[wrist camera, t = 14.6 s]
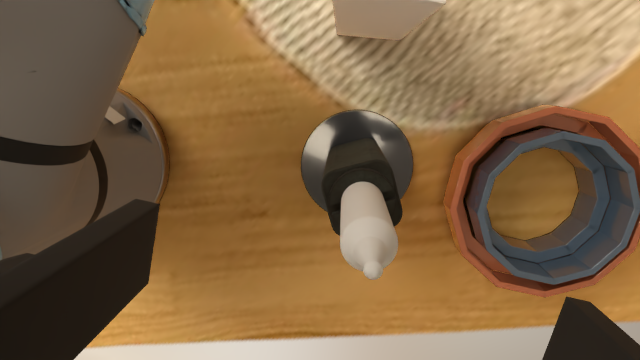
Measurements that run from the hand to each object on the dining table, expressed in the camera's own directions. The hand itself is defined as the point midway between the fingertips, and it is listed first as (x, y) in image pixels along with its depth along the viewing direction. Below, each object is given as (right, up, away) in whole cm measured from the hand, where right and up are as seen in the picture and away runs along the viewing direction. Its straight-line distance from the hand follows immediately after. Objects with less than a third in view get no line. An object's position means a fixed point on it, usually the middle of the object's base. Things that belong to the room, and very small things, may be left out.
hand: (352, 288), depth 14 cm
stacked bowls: (+19, +2, +29) cm, 35 cm away
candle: (+3, +5, +29) cm, 30 cm away
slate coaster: (+3, +5, +30) cm, 30 cm away
